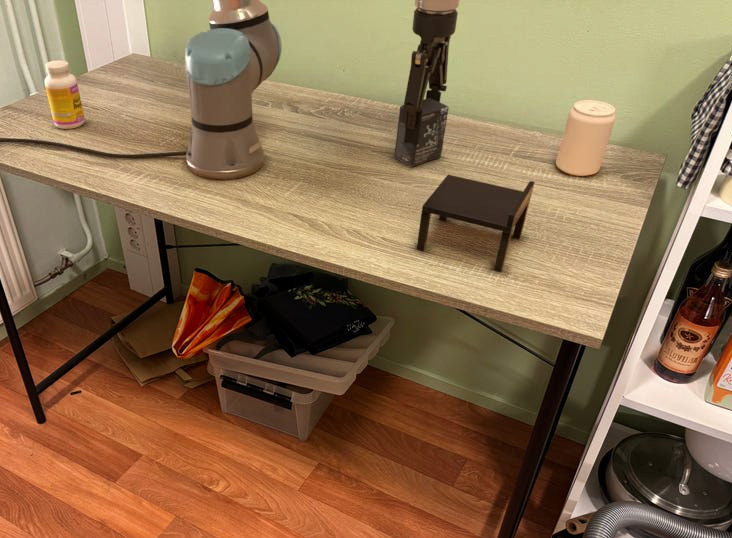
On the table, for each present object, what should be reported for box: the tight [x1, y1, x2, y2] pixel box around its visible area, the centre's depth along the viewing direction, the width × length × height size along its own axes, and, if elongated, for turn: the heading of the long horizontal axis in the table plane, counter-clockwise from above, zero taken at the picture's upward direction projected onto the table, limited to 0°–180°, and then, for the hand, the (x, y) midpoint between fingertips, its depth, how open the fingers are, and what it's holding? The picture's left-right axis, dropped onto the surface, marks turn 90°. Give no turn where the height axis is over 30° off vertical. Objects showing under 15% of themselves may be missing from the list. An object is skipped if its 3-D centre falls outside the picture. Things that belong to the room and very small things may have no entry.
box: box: [394, 98, 450, 168], centre depth 133 cm, size 8×6×11 cm
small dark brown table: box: [416, 174, 535, 273], centre depth 109 cm, size 14×12×10 cm
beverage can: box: [555, 99, 617, 177], centre depth 128 cm, size 8×8×12 cm
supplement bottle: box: [44, 59, 86, 130], centre depth 146 cm, size 7×7×13 cm
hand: (420, 133), depth 133 cm, fingers closed on box, 9 cm apart
